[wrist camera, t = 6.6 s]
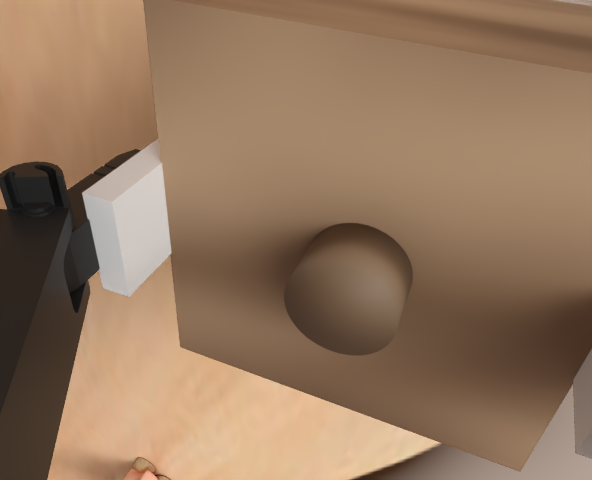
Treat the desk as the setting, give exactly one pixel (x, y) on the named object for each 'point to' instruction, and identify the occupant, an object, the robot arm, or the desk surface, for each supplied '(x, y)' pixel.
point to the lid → (384, 203)
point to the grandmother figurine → (143, 471)
